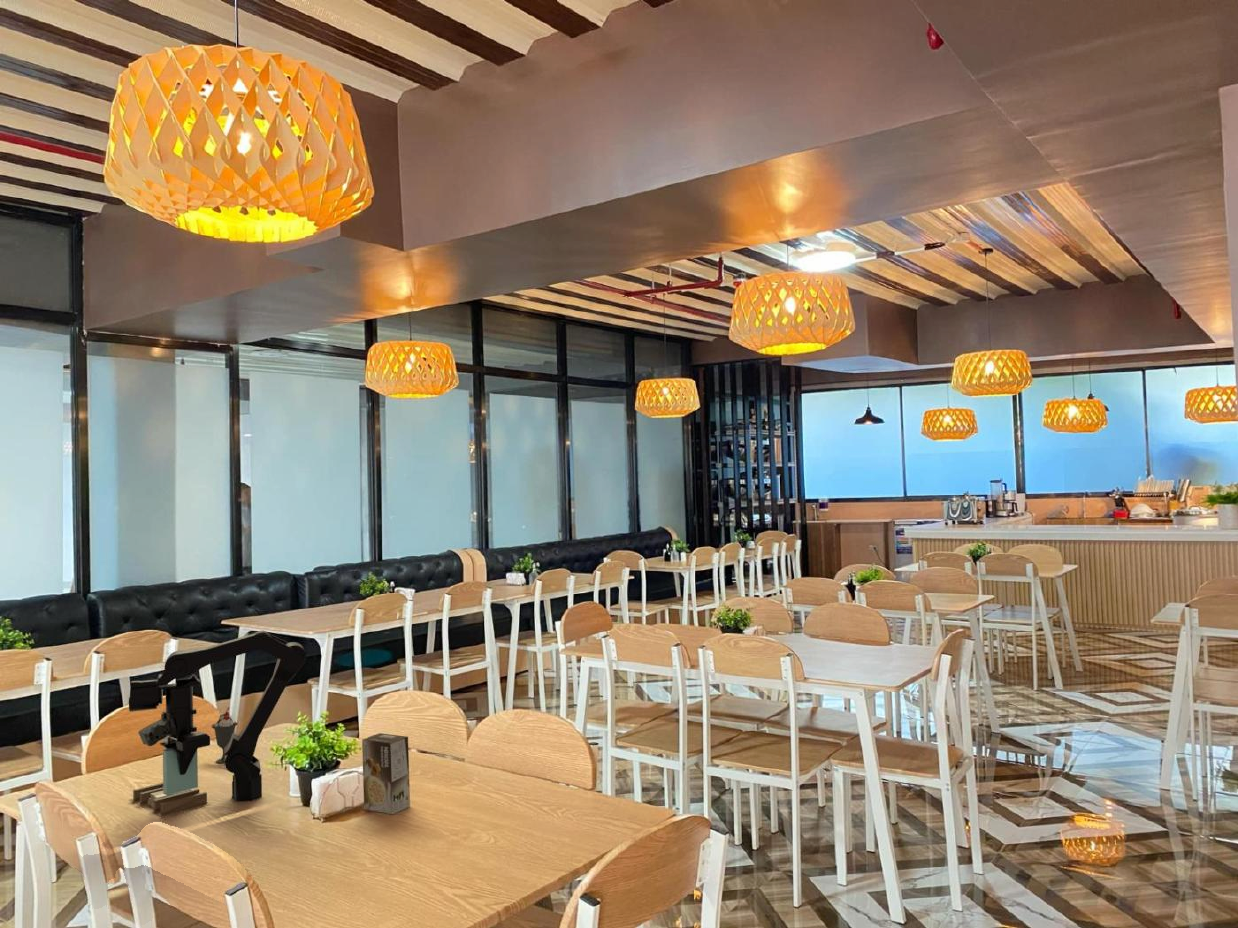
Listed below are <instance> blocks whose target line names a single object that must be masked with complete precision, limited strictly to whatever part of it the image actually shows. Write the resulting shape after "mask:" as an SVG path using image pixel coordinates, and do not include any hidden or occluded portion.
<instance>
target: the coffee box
mask: <svg viewBox="0 0 1238 928" xmlns="http://www.w3.org/2000/svg"><path fill="white" fill-rule="evenodd" d="M361 744H362V745H361V746H362V747H361V748H362V749H361V750H362V751H361V752H362V780H363V781H362V783H363V786H362V787H363V809H364V810H367V811H372V812H378V813H384V814H389V815H395V814H396V813H398V812H399V813H400V812H401V811H403V810H405V809H407V808H409V807H410V806H411V793H410V758H409V736H405V735H398V734H388V733H381V732H380V733H376V734H373V735H371V736H368V737H366V738H363V739H362V740H361Z"/></svg>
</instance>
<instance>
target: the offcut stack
mask: <svg viewBox="0 0 1238 928" xmlns="http://www.w3.org/2000/svg"><path fill="white" fill-rule="evenodd" d="M190 790H192V789H189V790H186V791H190ZM186 791H182V792H186ZM182 792H178V793H174V794H170V795H165V794H163V791H159V792H155V793H151V798H149V801H148V805H150V806H152V807H154V801H153V800H156V799H160V798H163V797H167V796H171V795H175V794H179V793H182Z"/></svg>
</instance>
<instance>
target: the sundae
mask: <svg viewBox="0 0 1238 928" xmlns="http://www.w3.org/2000/svg"><path fill="white" fill-rule="evenodd" d="M229 709H230V706H228V707H227V709H226V711H225V712H224V713H223V714H221V715H219V718H218V720H217V721H216V723H213V724H211V728H212V729H213V730H214V734H215V741H216V745H217V746H218V747H219V748H221V750H222V755H221V756H222V757H221V758H219V759H217V760H215V763H216V764H225V755H224V748H225V747H226V746H227V745H228V743H229V742H230V739H231V736H232V734H233V733H235V729H236V726H237V725H238V722H236V721H234V719H233V718H232V715H230V712H228V710H229Z"/></svg>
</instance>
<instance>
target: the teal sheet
mask: <svg viewBox="0 0 1238 928" xmlns="http://www.w3.org/2000/svg"><path fill="white" fill-rule="evenodd" d="M198 763H199V762H198V750H197V751H196V753H195V754H194V756H193V759H192V761H191V763H190V765H189V767H188V769H187V772H186V774H184V775H180V772H179V767H178V760H177V754H176V753H175V752H174V751H173V750H171V749H170V748H169V749H166V748H164V749H162V783H163V794H165V795H170V794H174V793H178V792H182V791H186V790H189V789H191V790H194V789H198V787H199V772H198Z"/></svg>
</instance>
